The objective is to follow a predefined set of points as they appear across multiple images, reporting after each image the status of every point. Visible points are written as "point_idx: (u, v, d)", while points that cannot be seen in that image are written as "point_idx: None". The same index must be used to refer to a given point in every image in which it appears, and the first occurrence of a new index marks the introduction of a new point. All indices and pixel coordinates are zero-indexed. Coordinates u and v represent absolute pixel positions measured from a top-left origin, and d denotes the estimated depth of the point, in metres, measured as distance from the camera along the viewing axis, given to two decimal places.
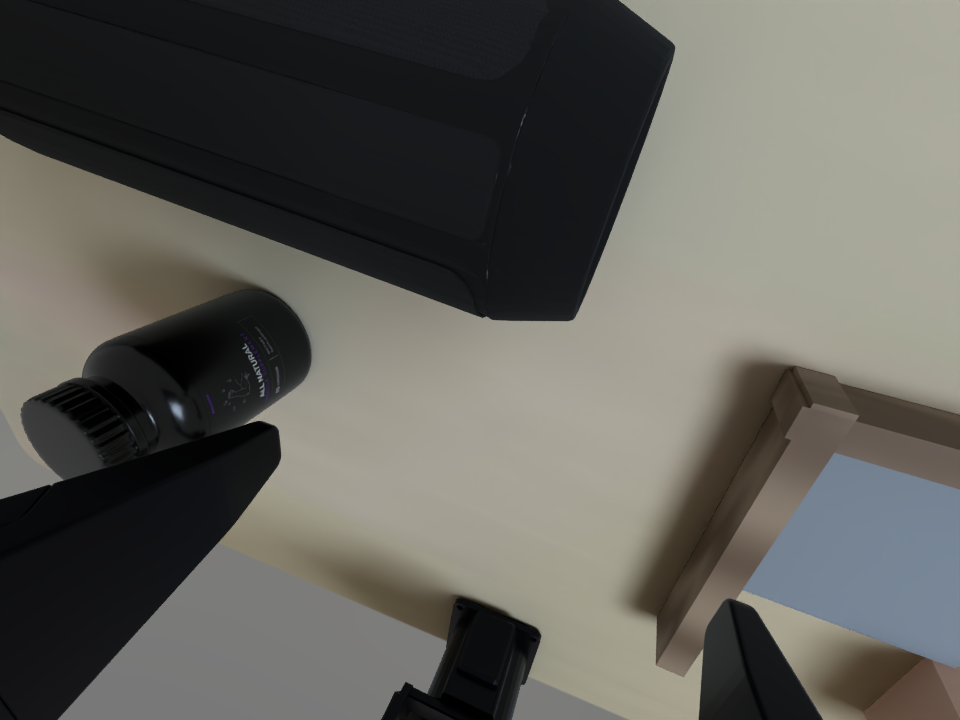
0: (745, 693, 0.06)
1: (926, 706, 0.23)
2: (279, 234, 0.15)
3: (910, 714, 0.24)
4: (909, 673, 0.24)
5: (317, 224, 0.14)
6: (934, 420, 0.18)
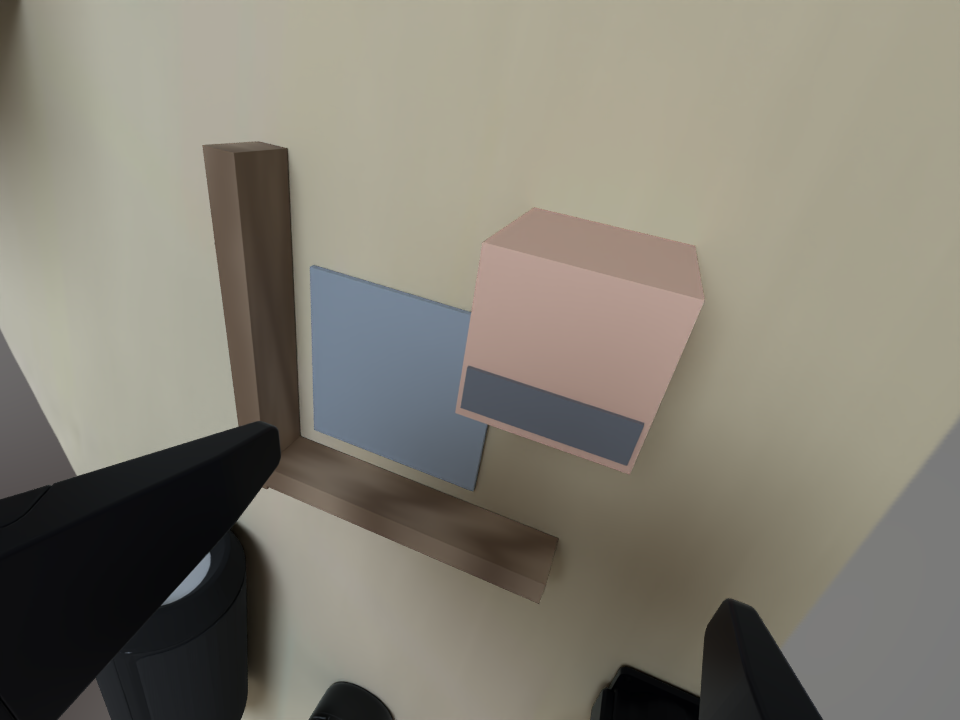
0: (745, 693, 0.06)
1: None
2: (172, 702, 0.33)
3: None
4: None
5: (146, 692, 0.32)
6: None
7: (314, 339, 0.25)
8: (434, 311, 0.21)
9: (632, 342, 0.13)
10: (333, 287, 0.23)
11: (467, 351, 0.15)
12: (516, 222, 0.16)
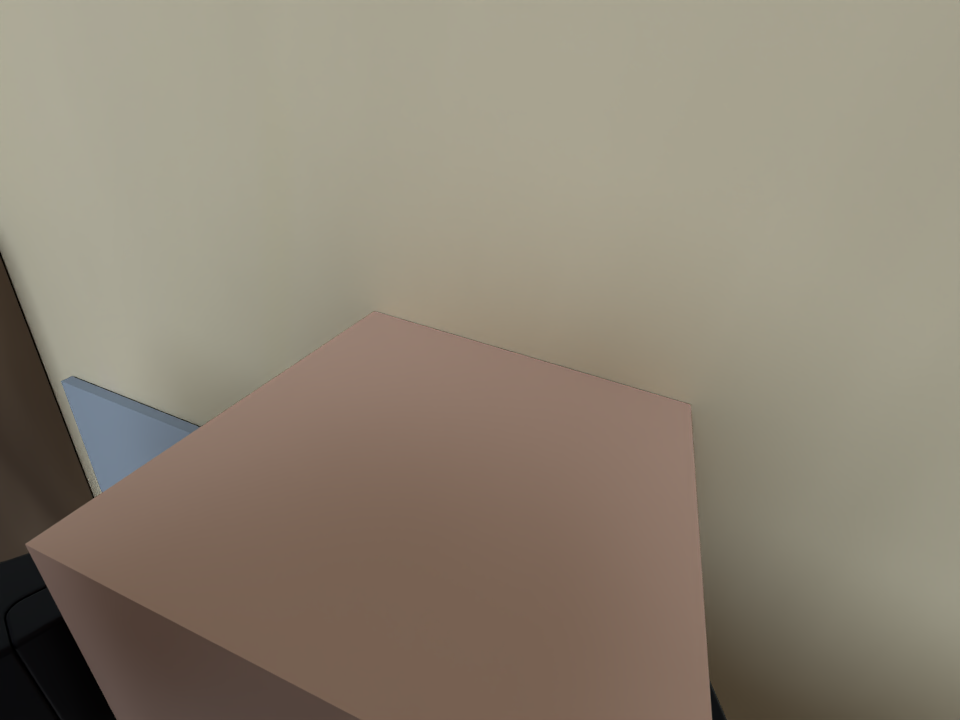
0: None
1: None
2: None
3: None
4: None
5: None
6: None
7: (100, 480, 0.16)
8: None
9: None
10: (100, 414, 0.14)
11: None
12: (272, 386, 0.07)
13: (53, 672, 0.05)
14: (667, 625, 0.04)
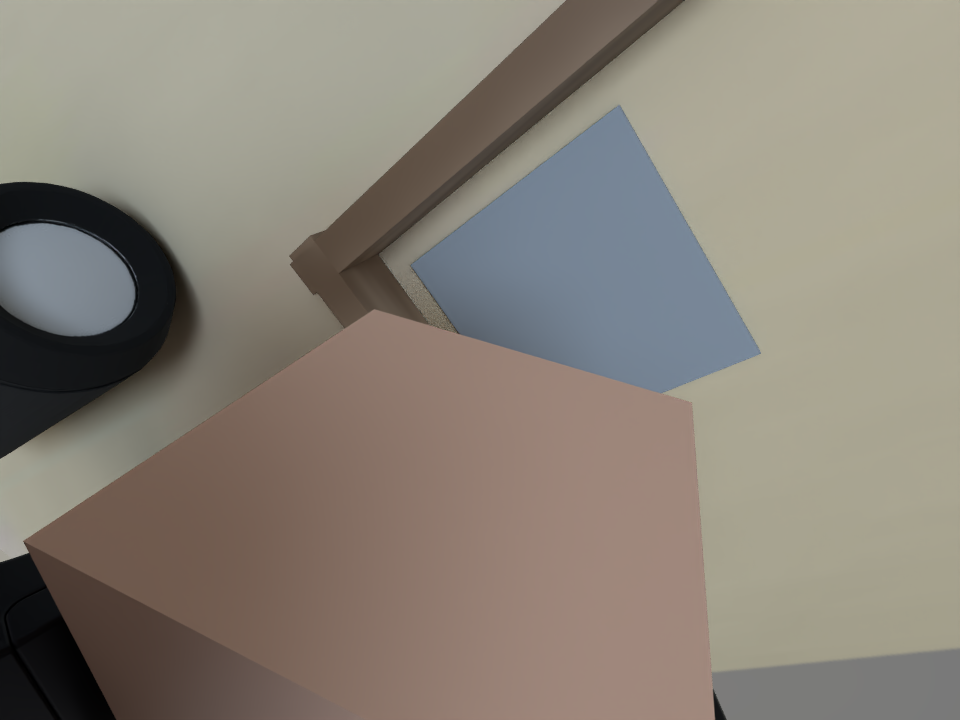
0: None
1: None
2: None
3: None
4: None
5: None
6: None
7: (524, 182, 0.17)
8: (705, 279, 0.17)
9: None
10: (619, 154, 0.16)
11: None
12: (272, 383, 0.07)
13: (53, 672, 0.05)
14: (669, 623, 0.04)
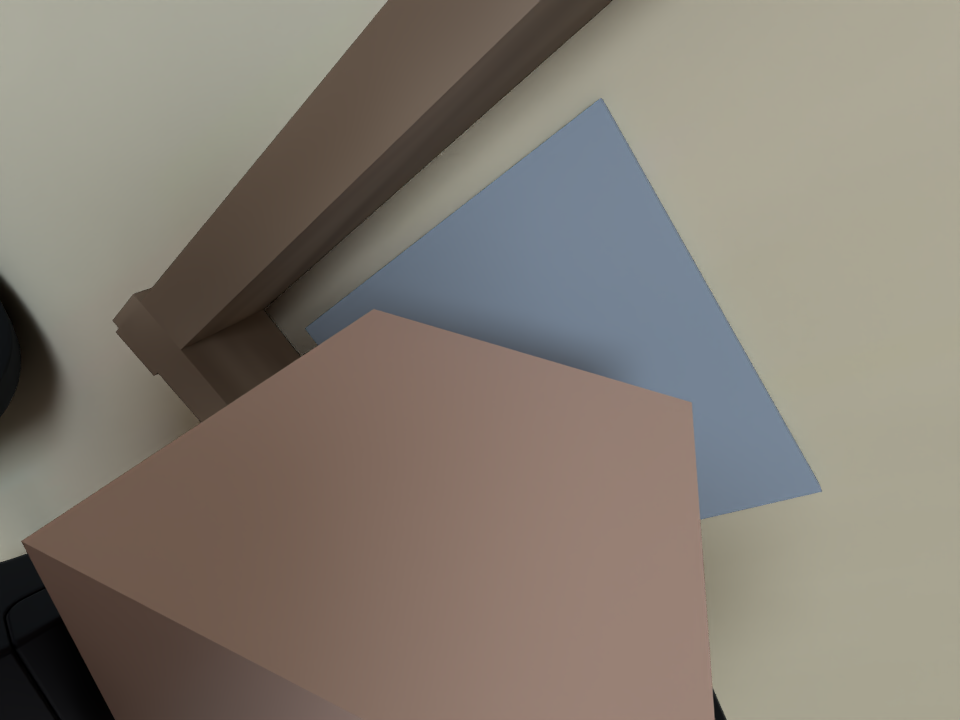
0: None
1: None
2: None
3: None
4: None
5: None
6: None
7: (455, 219, 0.11)
8: (738, 379, 0.10)
9: None
10: (602, 180, 0.10)
11: None
12: (271, 383, 0.07)
13: (53, 671, 0.05)
14: (669, 623, 0.04)
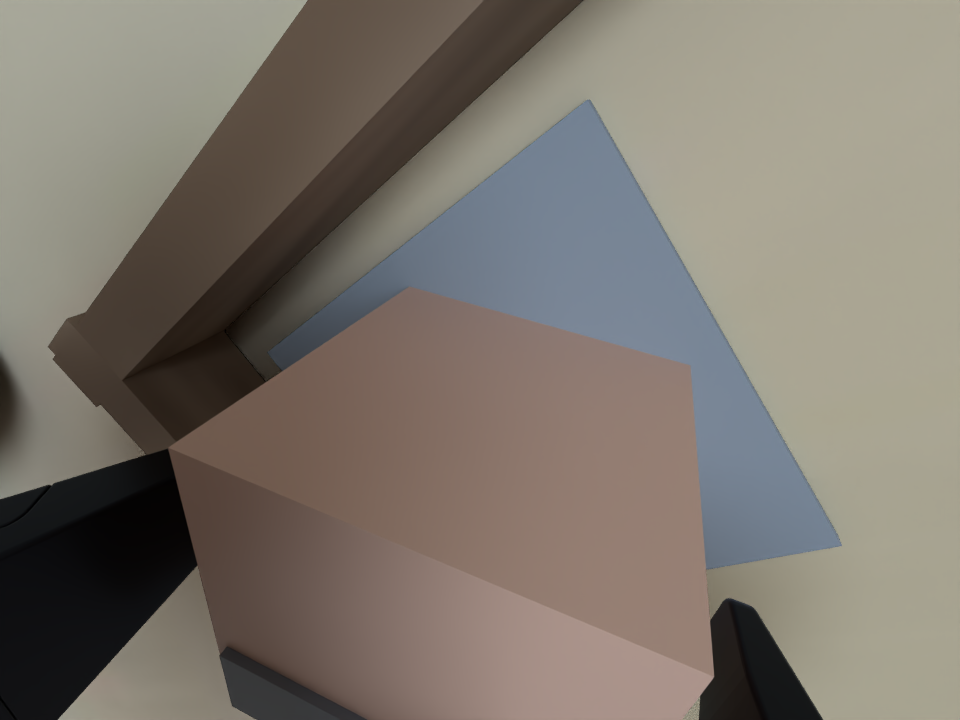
0: (745, 693, 0.06)
1: None
2: None
3: None
4: None
5: None
6: None
7: (425, 236, 0.10)
8: (747, 420, 0.09)
9: (532, 702, 0.05)
10: (590, 194, 0.08)
11: (217, 625, 0.07)
12: (334, 343, 0.08)
13: None
14: (671, 516, 0.06)
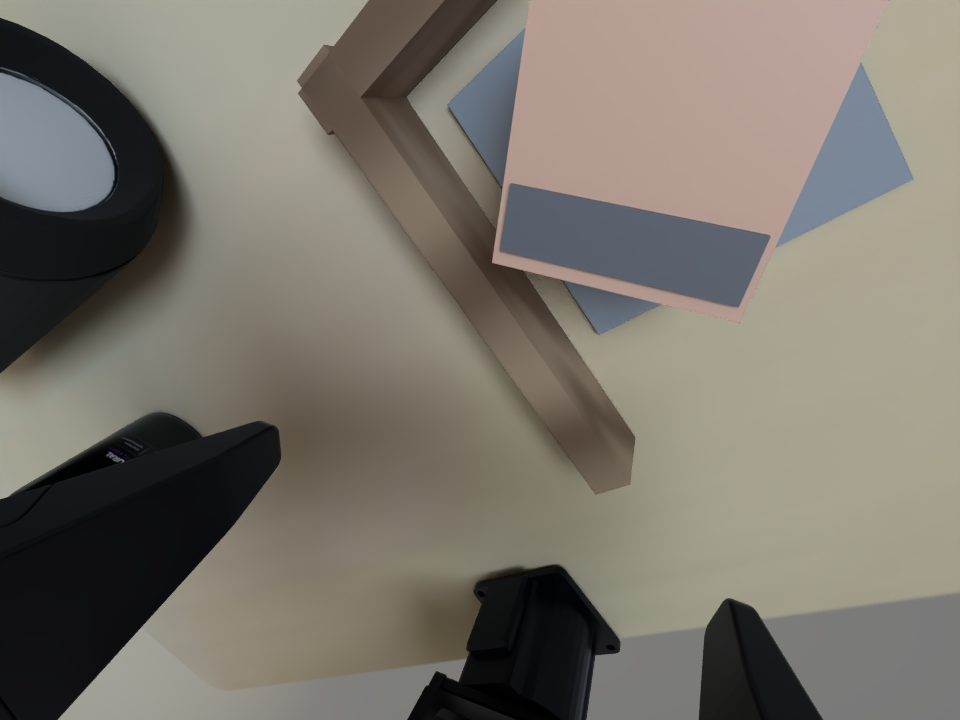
0: (745, 693, 0.06)
1: None
2: None
3: None
4: None
5: None
6: None
7: None
8: None
9: (762, 97, 0.09)
10: None
11: (510, 160, 0.11)
12: None
13: None
14: None
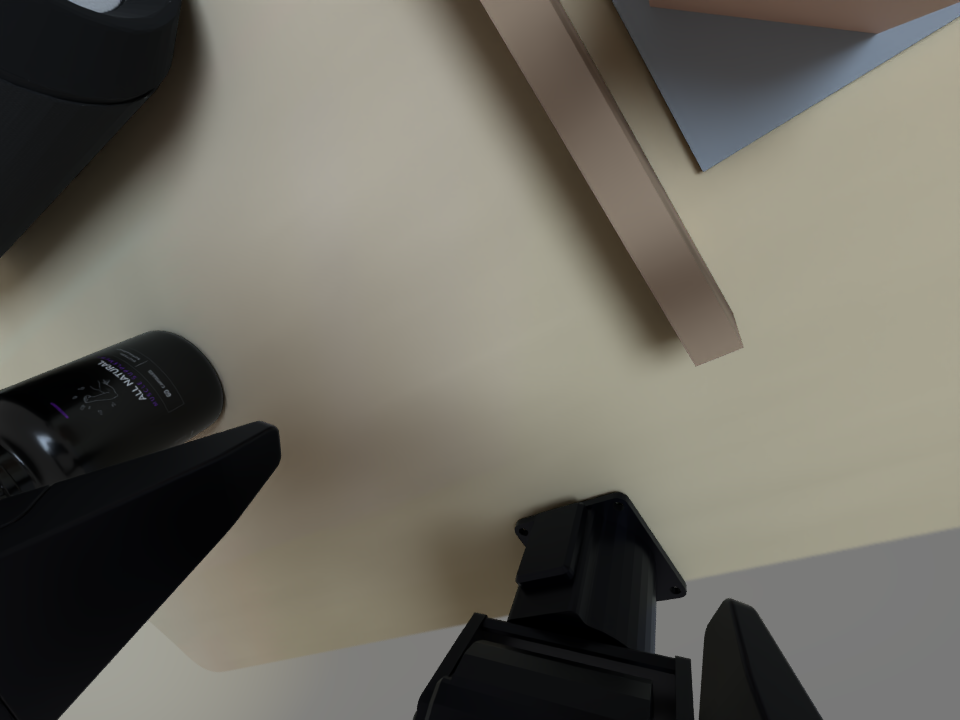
0: (745, 693, 0.06)
1: (707, 0, 0.12)
2: None
3: (757, 6, 0.12)
4: (710, 12, 0.13)
5: None
6: None
7: None
8: None
9: None
10: None
11: None
12: None
13: None
14: None
